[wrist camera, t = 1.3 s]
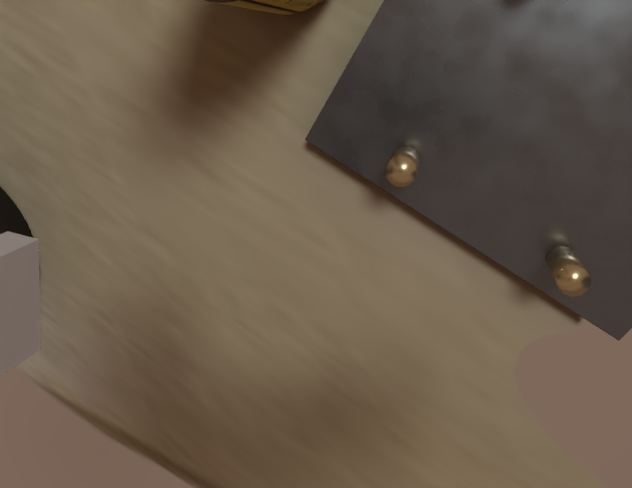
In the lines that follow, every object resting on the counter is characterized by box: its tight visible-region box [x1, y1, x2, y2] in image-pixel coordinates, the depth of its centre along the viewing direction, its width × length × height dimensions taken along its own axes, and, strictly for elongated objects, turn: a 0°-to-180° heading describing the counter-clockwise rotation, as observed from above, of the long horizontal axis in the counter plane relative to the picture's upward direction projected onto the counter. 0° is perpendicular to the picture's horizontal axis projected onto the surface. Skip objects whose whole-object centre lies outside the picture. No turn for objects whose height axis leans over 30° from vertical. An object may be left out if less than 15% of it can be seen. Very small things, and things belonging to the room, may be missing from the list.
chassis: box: [305, 0, 632, 340], centre depth 29 cm, size 22×16×5 cm
